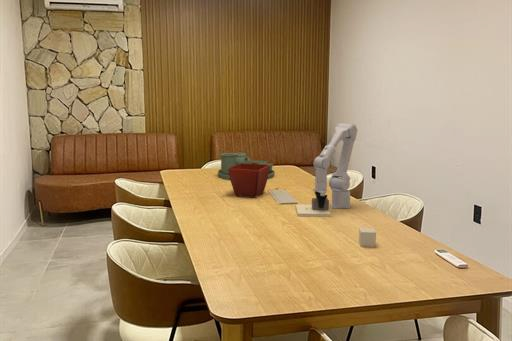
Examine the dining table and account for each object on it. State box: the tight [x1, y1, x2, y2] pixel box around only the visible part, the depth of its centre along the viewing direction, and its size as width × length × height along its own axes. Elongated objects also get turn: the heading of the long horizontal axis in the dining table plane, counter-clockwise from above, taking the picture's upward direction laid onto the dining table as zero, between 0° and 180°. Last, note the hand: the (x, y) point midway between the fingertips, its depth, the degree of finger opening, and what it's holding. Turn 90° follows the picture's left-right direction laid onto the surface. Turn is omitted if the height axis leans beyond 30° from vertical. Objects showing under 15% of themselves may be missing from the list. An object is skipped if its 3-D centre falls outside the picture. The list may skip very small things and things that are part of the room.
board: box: [294, 204, 332, 218], centre depth 249 cm, size 16×18×2 cm
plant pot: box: [228, 163, 270, 198], centre depth 285 cm, size 19×19×17 cm
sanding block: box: [311, 197, 330, 211], centre depth 248 cm, size 8×5×5 cm, turn 90°
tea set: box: [217, 151, 276, 181], centre depth 344 cm, size 40×40×16 cm
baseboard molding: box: [268, 187, 298, 206], centre depth 279 cm, size 31×3×12 cm
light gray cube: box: [358, 227, 377, 248], centre depth 199 cm, size 6×6×6 cm
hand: (320, 206), depth 249 cm, fingers closed on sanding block, 5 cm apart
